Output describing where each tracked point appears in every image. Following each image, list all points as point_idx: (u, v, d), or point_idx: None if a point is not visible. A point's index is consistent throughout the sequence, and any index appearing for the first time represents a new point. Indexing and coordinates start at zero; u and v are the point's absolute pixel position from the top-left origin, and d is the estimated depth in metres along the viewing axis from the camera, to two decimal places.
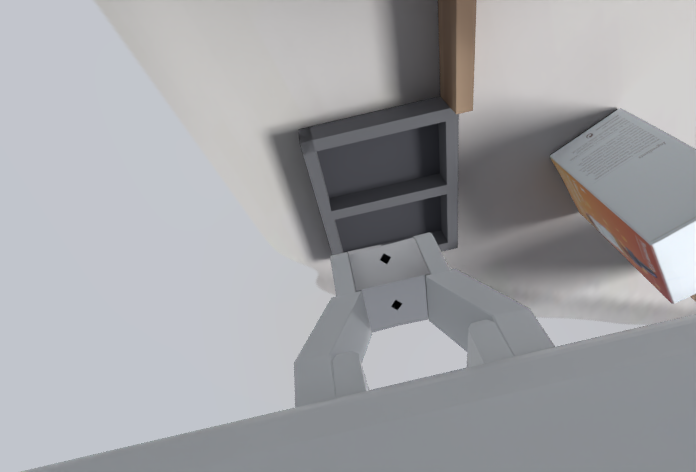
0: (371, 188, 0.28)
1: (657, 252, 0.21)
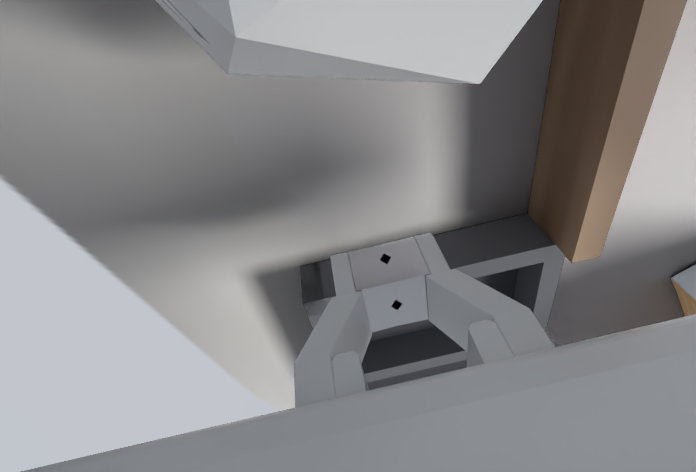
0: (408, 332, 0.19)
1: None
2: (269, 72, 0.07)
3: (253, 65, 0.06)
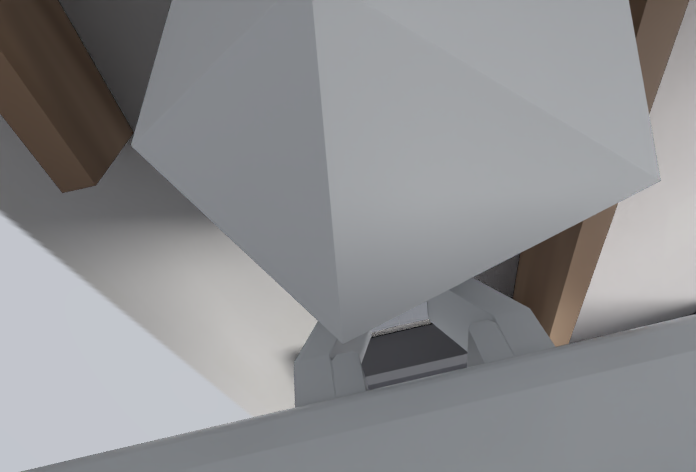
0: None
1: None
2: None
3: None
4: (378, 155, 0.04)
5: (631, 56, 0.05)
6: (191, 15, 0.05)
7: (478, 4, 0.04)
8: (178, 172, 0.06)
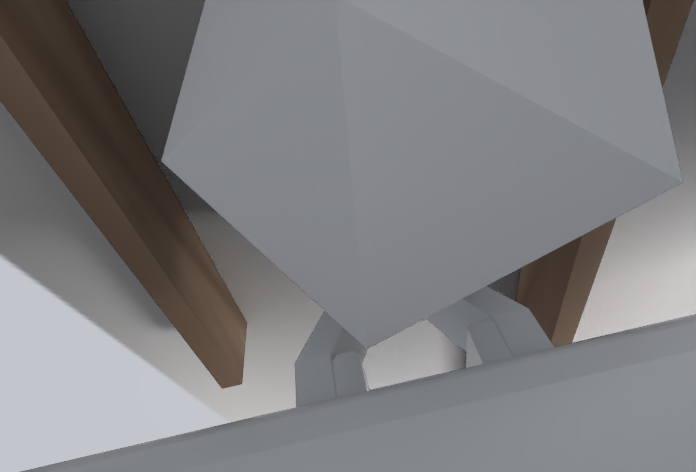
0: None
1: None
2: None
3: None
4: (400, 164, 0.04)
5: (648, 61, 0.05)
6: (219, 37, 0.06)
7: (494, 17, 0.04)
8: (206, 185, 0.07)
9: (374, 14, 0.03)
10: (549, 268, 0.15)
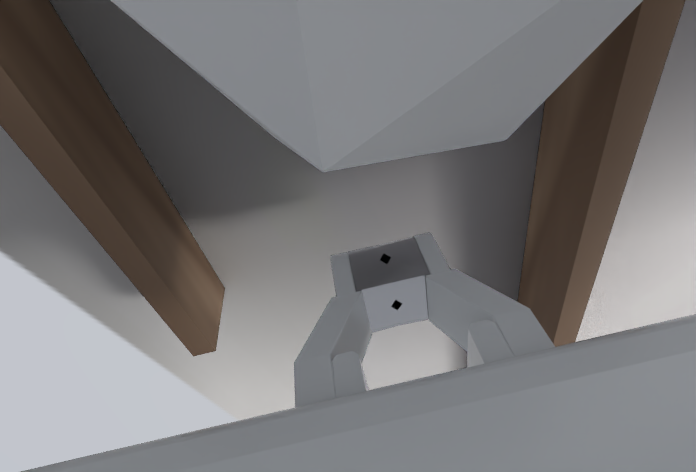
0: None
1: None
2: None
3: None
4: None
5: None
6: None
7: None
8: None
9: None
10: (561, 212, 0.13)
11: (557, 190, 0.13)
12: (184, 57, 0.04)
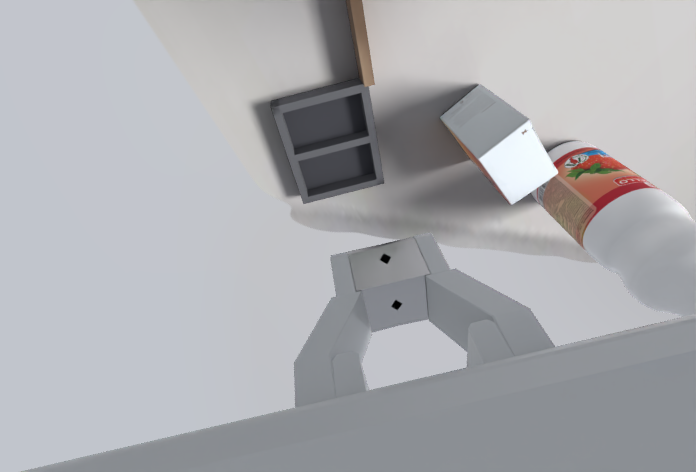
0: (321, 141, 0.43)
1: (483, 164, 0.36)
2: None
3: None
4: None
5: None
6: None
7: None
8: None
9: None
10: None
11: None
12: None
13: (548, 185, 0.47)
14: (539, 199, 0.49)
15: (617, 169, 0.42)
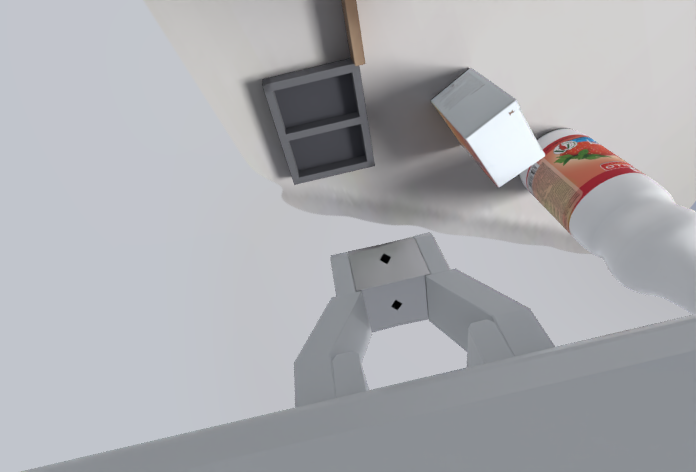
0: (313, 122, 0.43)
1: (471, 144, 0.36)
2: None
3: None
4: None
5: None
6: None
7: None
8: None
9: None
10: None
11: None
12: None
13: (537, 171, 0.47)
14: (528, 186, 0.50)
15: (604, 155, 0.42)
